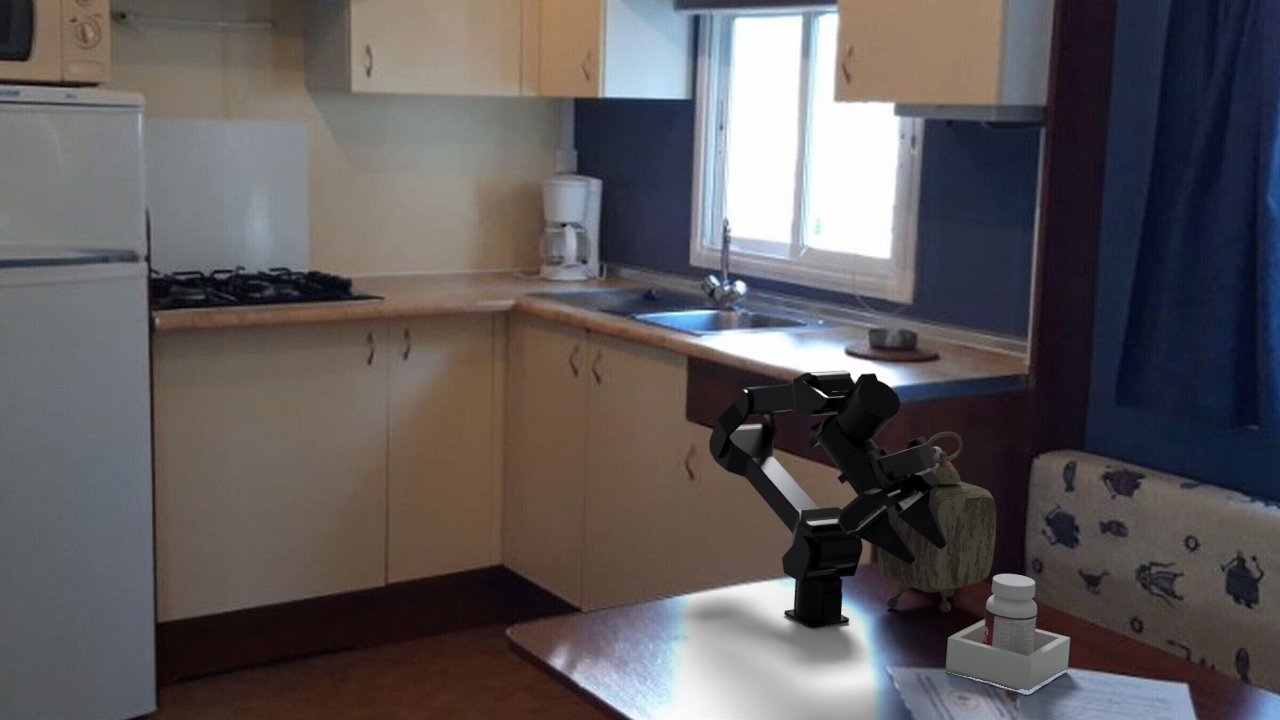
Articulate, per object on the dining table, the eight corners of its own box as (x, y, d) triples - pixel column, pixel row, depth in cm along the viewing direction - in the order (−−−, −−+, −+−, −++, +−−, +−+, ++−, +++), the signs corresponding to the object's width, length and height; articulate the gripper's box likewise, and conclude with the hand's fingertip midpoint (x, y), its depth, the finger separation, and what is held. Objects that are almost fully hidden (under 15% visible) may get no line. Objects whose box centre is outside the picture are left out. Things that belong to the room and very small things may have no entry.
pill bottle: (984, 655, 198) (991, 569, 196) (1034, 663, 196) (1041, 575, 194) (978, 672, 192) (985, 583, 190) (1030, 679, 190) (1037, 590, 188)
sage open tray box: (945, 672, 193) (948, 637, 192) (986, 650, 201) (989, 616, 201) (1028, 696, 186) (1031, 660, 185) (1067, 672, 195) (1070, 637, 194)
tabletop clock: (948, 591, 225) (961, 421, 221) (995, 610, 218) (1009, 434, 213) (873, 606, 217) (884, 430, 213) (918, 626, 210) (931, 444, 205)
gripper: (865, 429, 191) (943, 534, 186) (930, 409, 206) (1003, 505, 202) (805, 481, 196) (879, 584, 192) (872, 458, 212) (942, 552, 207)
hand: (929, 554), depth 198 cm, fingers open, 9 cm apart
